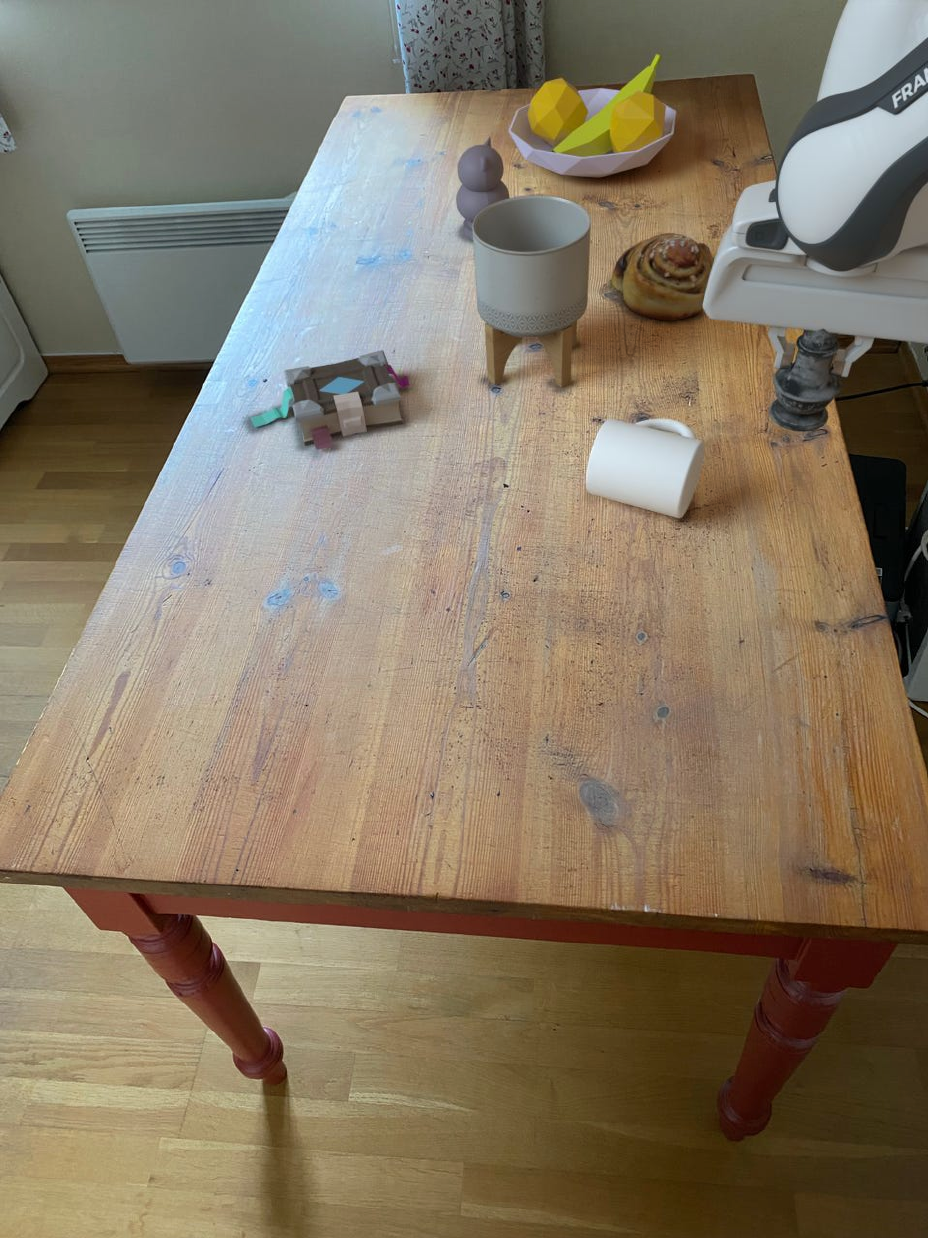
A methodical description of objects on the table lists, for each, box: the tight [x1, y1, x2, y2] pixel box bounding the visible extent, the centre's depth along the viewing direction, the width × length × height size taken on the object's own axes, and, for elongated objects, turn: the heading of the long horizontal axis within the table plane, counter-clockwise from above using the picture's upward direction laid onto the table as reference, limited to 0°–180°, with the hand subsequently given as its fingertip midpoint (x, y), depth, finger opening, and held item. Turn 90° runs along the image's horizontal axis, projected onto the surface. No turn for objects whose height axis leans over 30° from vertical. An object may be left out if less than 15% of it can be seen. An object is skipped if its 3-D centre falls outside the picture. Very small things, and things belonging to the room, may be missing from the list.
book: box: [249, 349, 410, 451], centre depth 104 cm, size 20×12×5 cm, turn 106°
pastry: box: [611, 232, 715, 321], centre depth 116 cm, size 13×15×8 cm
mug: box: [585, 418, 706, 519], centre depth 92 cm, size 12×10×8 cm
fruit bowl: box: [508, 53, 677, 179], centre depth 142 cm, size 28×27×11 cm
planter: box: [472, 194, 592, 389], centre depth 104 cm, size 13×13×18 cm
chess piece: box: [768, 329, 843, 433], centre depth 78 cm, size 6×6×12 cm
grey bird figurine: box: [455, 136, 511, 241], centre depth 129 cm, size 8×8×12 cm
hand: (809, 369), depth 79 cm, fingers closed on chess piece, 3 cm apart
